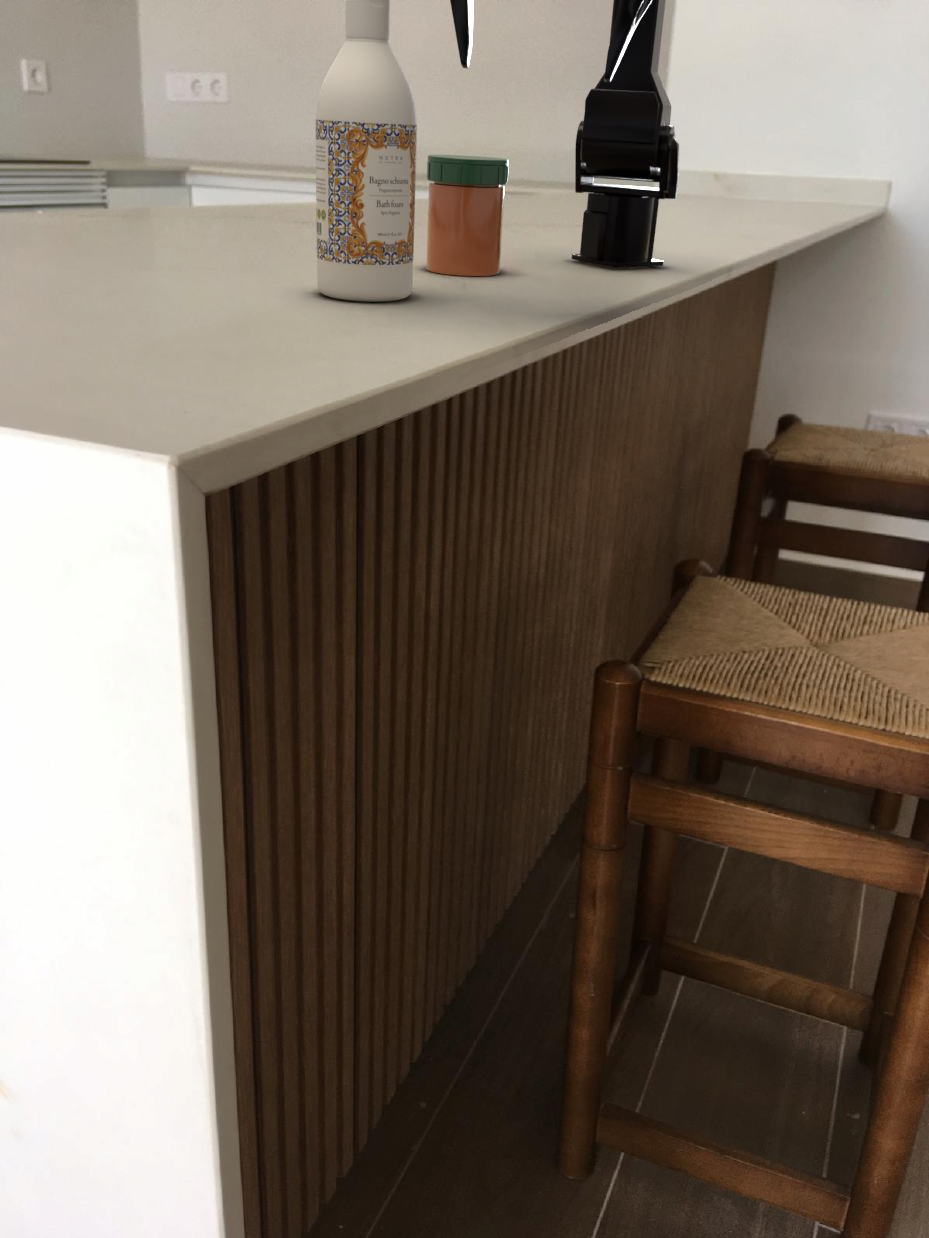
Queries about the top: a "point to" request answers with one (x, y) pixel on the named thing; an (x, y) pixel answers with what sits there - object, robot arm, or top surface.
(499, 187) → the jar
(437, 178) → the lid
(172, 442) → the top surface
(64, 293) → the top surface
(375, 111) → the bath foam
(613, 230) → the robot arm
